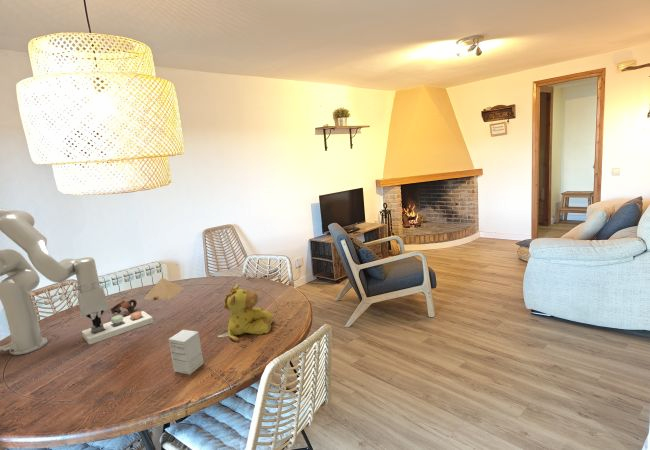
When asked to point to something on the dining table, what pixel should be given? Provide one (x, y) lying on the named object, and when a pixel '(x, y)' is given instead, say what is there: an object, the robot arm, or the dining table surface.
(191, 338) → the supplement box
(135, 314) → the button terracotta
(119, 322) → the button sage
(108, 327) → the panel
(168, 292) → the model pyramid
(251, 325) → the giraffe plush
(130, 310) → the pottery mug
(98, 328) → the button charcoal
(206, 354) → the dining table surface
